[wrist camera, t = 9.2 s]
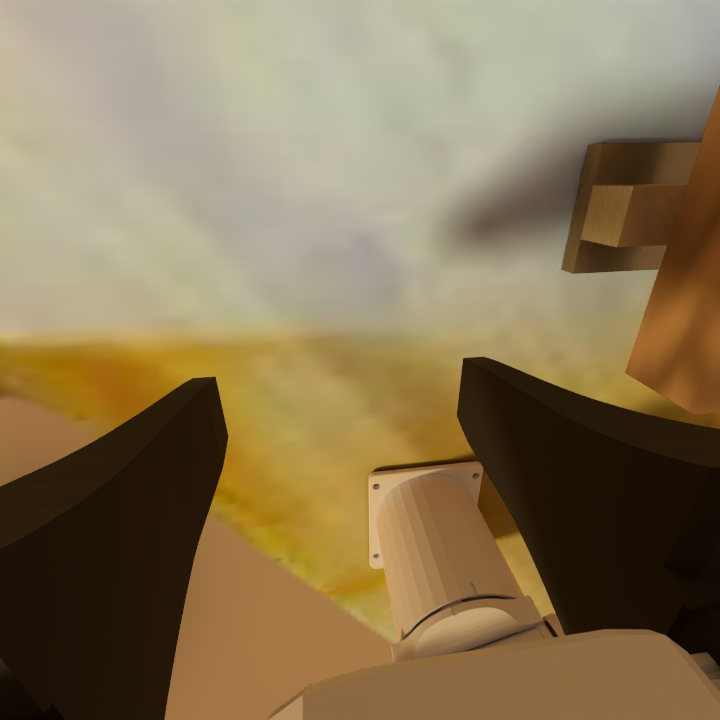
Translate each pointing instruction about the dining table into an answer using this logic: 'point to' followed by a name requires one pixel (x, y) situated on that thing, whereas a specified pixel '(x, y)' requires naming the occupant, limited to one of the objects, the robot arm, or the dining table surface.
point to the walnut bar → (688, 294)
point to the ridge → (627, 205)
